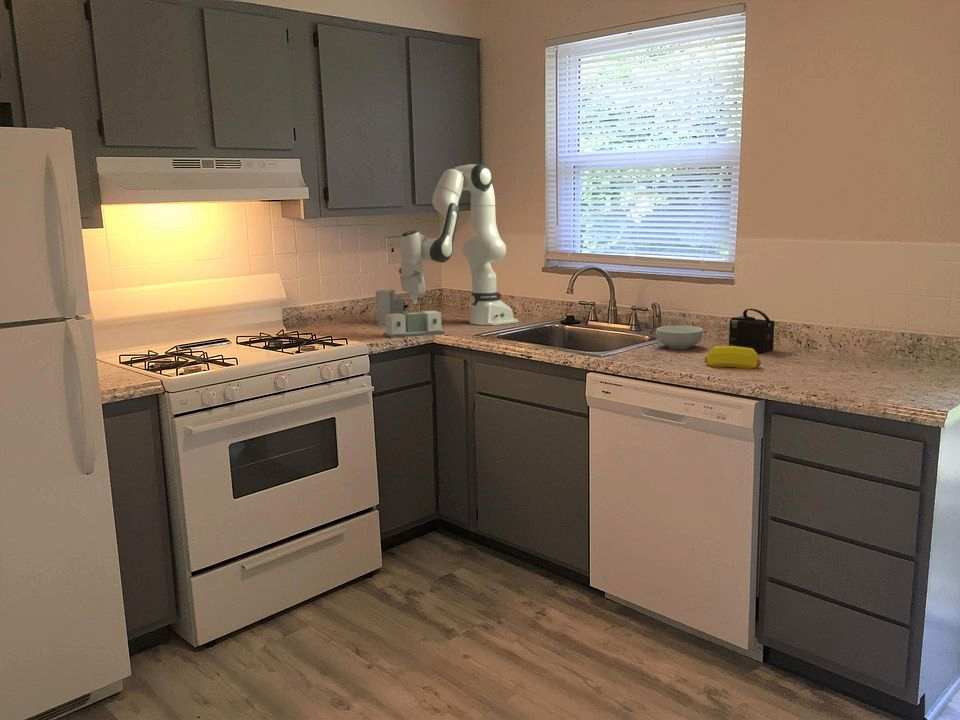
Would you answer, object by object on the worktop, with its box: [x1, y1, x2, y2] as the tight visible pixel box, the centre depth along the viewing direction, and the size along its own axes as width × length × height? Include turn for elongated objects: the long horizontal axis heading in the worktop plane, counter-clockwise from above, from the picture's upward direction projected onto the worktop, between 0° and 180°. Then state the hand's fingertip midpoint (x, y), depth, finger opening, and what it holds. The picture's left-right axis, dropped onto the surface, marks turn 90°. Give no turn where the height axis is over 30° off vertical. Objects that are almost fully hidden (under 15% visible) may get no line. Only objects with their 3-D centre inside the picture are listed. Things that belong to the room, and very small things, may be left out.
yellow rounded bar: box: [703, 345, 762, 370], centre depth 270 cm, size 18×7×8 cm
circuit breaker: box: [374, 289, 409, 325], centre depth 381 cm, size 8×14×15 cm, turn 89°
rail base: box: [382, 310, 446, 339], centre depth 347 cm, size 24×10×9 cm, turn 114°
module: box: [404, 311, 424, 332], centre depth 347 cm, size 7×5×8 cm
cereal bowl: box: [656, 325, 704, 350], centre depth 307 cm, size 17×17×7 cm
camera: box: [728, 308, 776, 354], centre depth 298 cm, size 11×14×15 cm
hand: (414, 303), depth 346 cm, fingers closed
